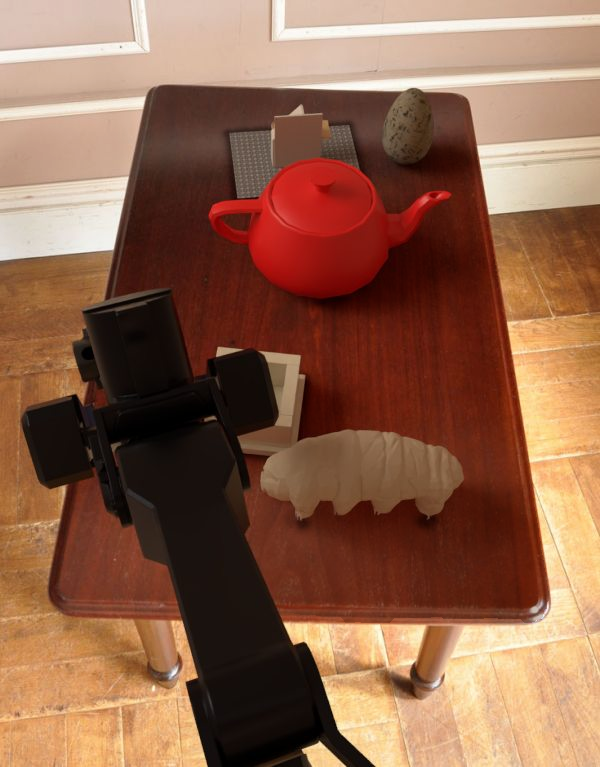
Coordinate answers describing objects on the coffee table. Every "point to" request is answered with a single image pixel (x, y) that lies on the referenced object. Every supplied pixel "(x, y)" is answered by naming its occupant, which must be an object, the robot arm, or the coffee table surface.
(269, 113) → the coffee table surface
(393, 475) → the model
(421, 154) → the decorative egg
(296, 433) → the holder
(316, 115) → the napkin holder
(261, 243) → the teapot
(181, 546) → the robot arm
